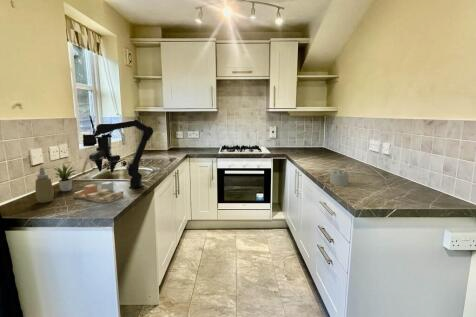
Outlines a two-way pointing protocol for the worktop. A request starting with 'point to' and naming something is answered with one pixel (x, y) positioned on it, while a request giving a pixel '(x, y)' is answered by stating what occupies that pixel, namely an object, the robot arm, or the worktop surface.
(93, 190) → the terracotta block
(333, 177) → the lumpy-topped squat cylinder
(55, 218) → the worktop surface
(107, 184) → the blue-grey block
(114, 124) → the robot arm
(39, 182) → the squeeze bottle
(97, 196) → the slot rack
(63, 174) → the house plant
